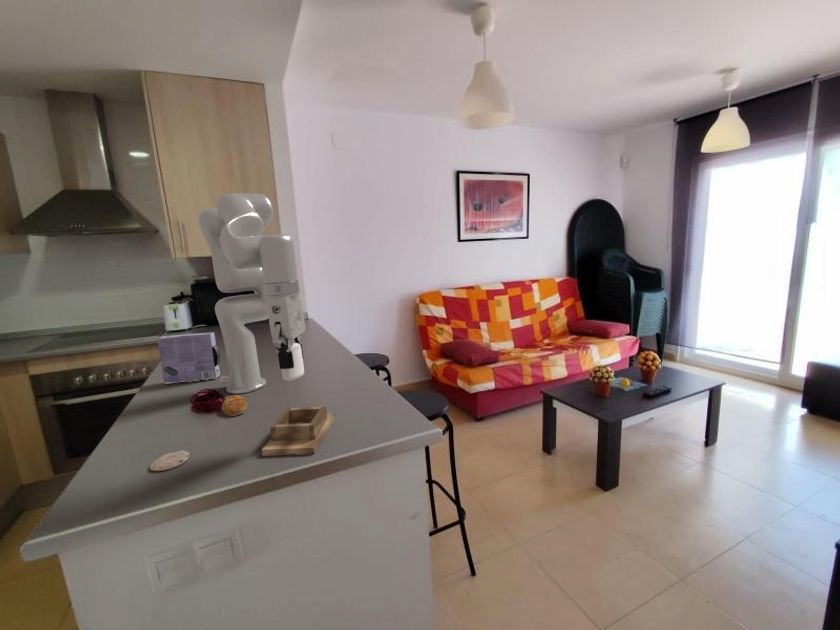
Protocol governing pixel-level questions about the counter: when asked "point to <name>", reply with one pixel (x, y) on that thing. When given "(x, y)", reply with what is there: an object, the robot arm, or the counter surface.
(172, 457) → the flatbread
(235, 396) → the pastry
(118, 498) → the counter surface
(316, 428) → the holder stand
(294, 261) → the robot arm
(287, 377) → the eye dropper bottle
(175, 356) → the cake pan box
